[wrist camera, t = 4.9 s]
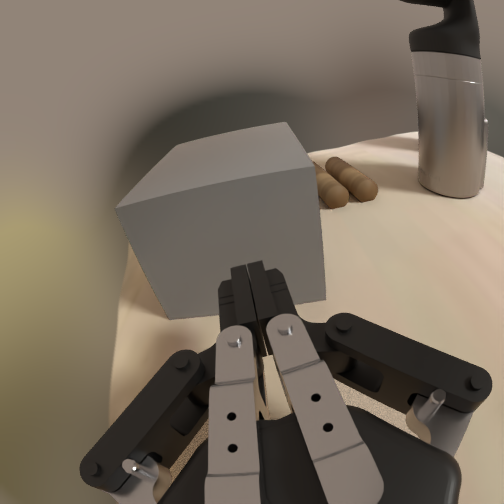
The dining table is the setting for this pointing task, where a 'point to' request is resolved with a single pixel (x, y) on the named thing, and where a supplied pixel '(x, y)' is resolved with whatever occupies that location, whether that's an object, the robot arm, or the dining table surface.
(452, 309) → the dining table surface
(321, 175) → the roller
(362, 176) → the roller
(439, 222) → the dining table surface
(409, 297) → the dining table surface
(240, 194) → the grey rectangular block
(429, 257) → the dining table surface
